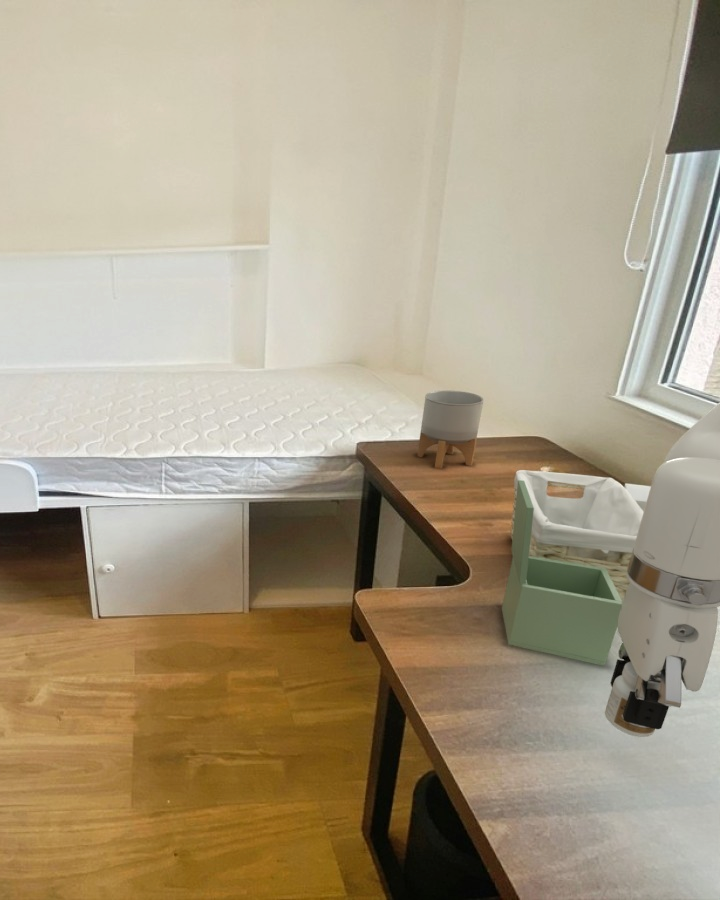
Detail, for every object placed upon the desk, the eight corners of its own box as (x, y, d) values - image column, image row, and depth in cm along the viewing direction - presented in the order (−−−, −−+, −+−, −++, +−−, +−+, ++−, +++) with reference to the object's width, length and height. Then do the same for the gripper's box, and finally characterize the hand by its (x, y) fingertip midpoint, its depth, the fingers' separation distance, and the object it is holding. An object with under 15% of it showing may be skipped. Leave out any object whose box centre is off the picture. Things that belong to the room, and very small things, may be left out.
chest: (589, 625, 87) (606, 568, 84) (604, 666, 80) (624, 604, 76) (501, 608, 93) (513, 553, 89) (508, 644, 85) (521, 586, 81)
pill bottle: (617, 736, 64) (633, 684, 61) (596, 705, 68) (611, 656, 65) (663, 741, 63) (682, 689, 60) (639, 710, 66) (656, 659, 64)
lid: (524, 480, 84) (517, 480, 85) (534, 507, 77) (526, 507, 77) (517, 551, 88) (511, 550, 89) (525, 584, 81) (519, 583, 81)
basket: (643, 620, 88) (671, 540, 82) (520, 599, 94) (538, 523, 89) (599, 545, 108) (618, 476, 102) (500, 532, 114) (513, 467, 109)
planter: (476, 457, 149) (488, 394, 143) (465, 473, 141) (477, 407, 134) (424, 448, 158) (432, 388, 151) (411, 463, 149) (419, 400, 142)
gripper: (768, 635, 49) (707, 780, 56) (694, 540, 63) (653, 665, 69) (656, 615, 52) (611, 754, 59) (609, 529, 66) (577, 650, 73)
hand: (634, 705), depth 64 cm, fingers closed on pill bottle, 4 cm apart
